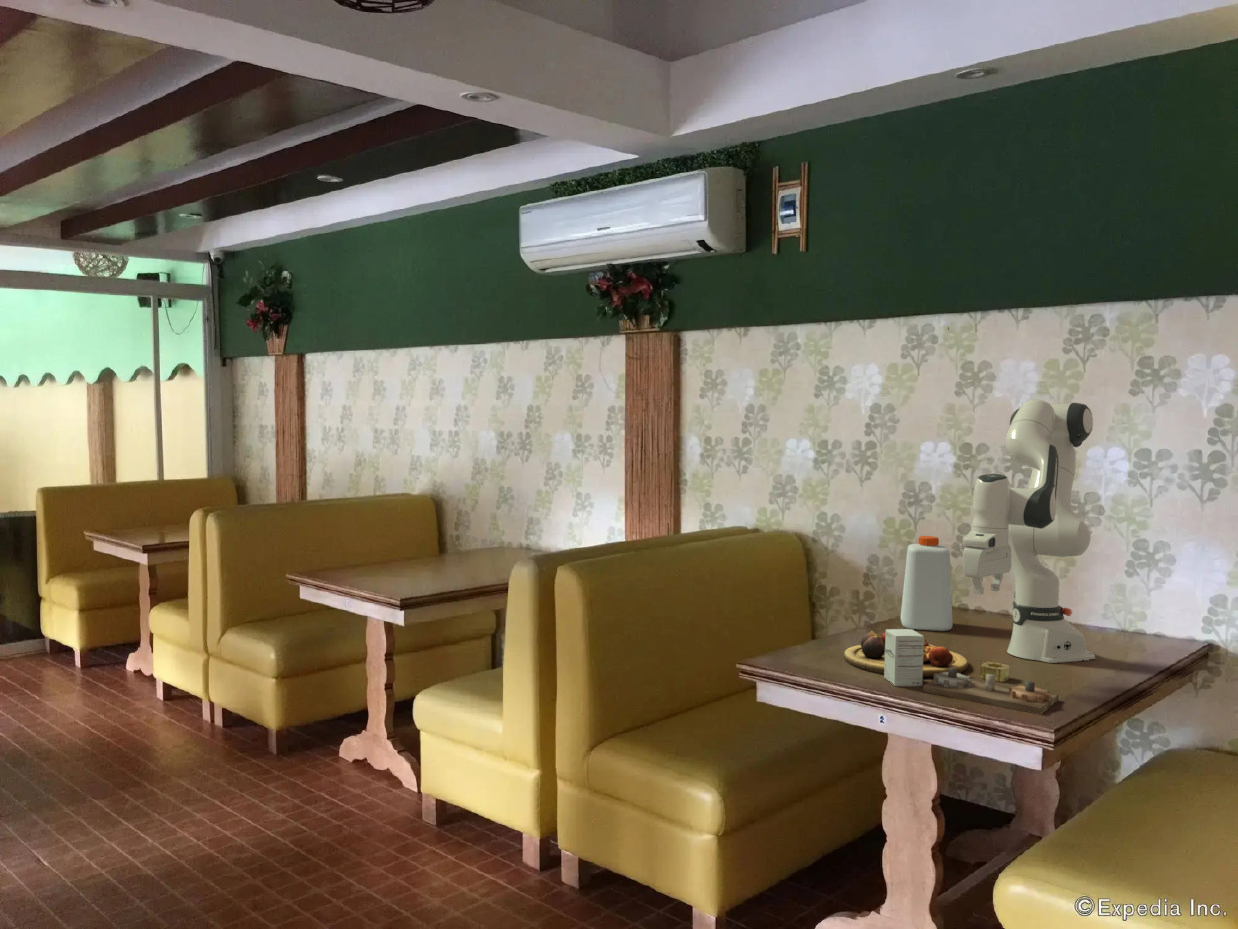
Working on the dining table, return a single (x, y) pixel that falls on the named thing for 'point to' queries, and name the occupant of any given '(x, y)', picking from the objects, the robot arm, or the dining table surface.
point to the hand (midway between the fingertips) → (987, 592)
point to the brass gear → (995, 671)
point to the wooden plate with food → (873, 656)
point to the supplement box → (904, 657)
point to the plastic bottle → (927, 586)
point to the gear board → (991, 691)
